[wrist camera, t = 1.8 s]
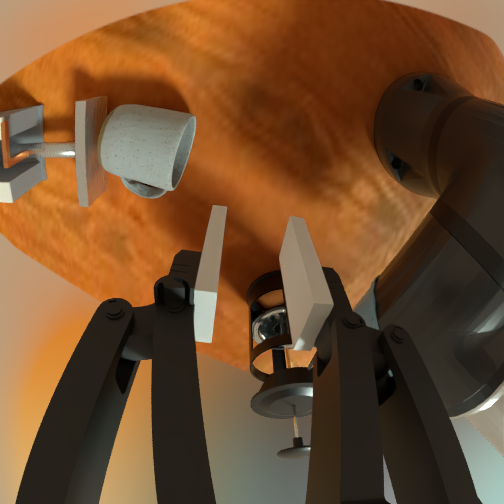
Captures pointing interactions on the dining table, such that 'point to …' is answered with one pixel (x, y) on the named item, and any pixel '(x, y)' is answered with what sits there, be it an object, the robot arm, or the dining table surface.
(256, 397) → the french press
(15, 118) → the grey bracket housing
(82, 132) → the plunger
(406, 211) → the dining table surface
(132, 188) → the ceramic mug
